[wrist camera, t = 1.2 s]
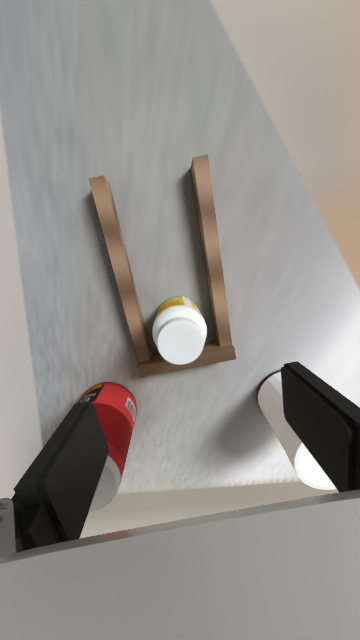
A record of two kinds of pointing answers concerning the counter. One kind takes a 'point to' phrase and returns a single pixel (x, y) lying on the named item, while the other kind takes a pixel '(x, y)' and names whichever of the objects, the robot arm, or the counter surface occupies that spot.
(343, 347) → the counter surface
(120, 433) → the canned food
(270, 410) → the mug
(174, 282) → the counter surface
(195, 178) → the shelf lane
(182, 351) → the supplement bottle
